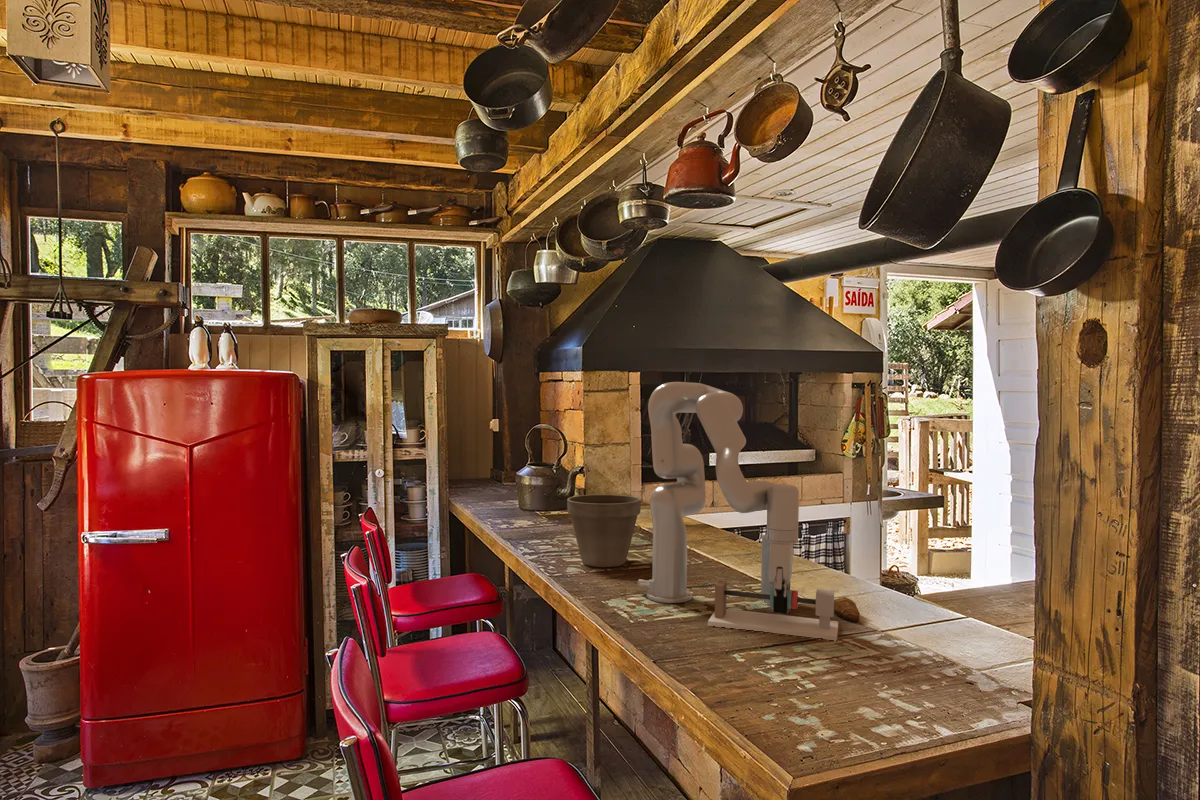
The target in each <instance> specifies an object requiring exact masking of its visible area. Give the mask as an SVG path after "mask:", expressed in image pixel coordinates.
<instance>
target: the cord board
mask: <svg viewBox="0 0 1200 800" xmlns="http://www.w3.org/2000/svg"><path fill="white" fill-rule="evenodd" d="M727 583H728V581H726V580H718V581H717V582H716V584H715V585H714V589H715V590H714V611H713V613H712V614H711V616H710V618H709V619H708V620H707V627H713V626H715V628H721V627H725V629H730V628H736V629H735V630H738V629H746V630H754V631H764V632H772V633H782V634H790V635H798V636H806V637H815V638H823V639H830V640H837V641H838V635H837V634H839V633H838V632H839V621H837V620H831V618H834V614H835V613H834V600H835V590H831V589H822V588H821V589H820V588H817V589H816V592H815V598H805V597H799V591H798V590H796V589H795V590H792V589H791V590H792V600H791V602H792V603H791V605H792V608H791V609H792V610H798V607H799V606H798V605H799V604H807V605H815V616H818V618H814V617H813V618H812V617H802V616H794V615H786V614H778V613H777V614H776V613H775V614H774V613H766V612H758V611H750V610H749V611H748V610H739V609H731V608H730V609H729V608H727V596H730V597H731V596H733V597H740V598H751V599H758V600H759V599H760V600H762V599H768V600H770V595H769V594H761V593H756V592H748V591H738V590H730V589H729V590H728V589H727ZM746 630H745V631H746ZM754 631H753V632H754Z"/></svg>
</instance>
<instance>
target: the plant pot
mask: <svg viewBox="0 0 1200 800" xmlns="http://www.w3.org/2000/svg"><path fill="white" fill-rule="evenodd" d="M641 502H642V498H640V497H638V496H633V495H623V494H606V493H605V494H582V495H574V496H571V497H568V498H567V500H566V505H567V514H568V515H570V518H571V523H572V527H573V530H574V534H575V535H574V536H575V540H576V543H577V548H578V552H579V556H580V559H581V562H582V563H583V564H584V565H586V566H588V567H593V568H594V567H595V568H597V567H598V568H613V567H614V568H615V567H620V566H622V565H625V563H626V562H627V558H628V555H629V552H630V548H631V544H632V540H633V536H634V531H635V527H636V523H637V518H638V515H640V514H641V507H642V506H641V505H642V503H641Z"/></svg>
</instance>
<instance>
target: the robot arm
mask: <svg viewBox="0 0 1200 800" xmlns="http://www.w3.org/2000/svg"><path fill="white" fill-rule="evenodd" d="M647 408H648V418H649V424H650V431H651V433H650V434H651V449H652V450H651V452H652V465H653V467H652V468H653V471H654V474H656V476H657V477H659V478H662V479H666V480H669V479H676V482H672V483H665V484H662V485H659V486H657V487H656V488H655V489H653V491H652V493H651V495H650V497H649V508H650V513H651V521H652V566H651V567H652V568H651V569H652V570H651V571H652V573H651V574H652V576H651V579H649V580H647V579H646V580H645V579H640V578H639V579H638V580H637V587H639V588H641V589H647V591H646V595H645V596H646V598H647V599H649V600H651V601H654V602H659V603H666V604H679V603H686V602H689V601H691V600H692V598H693V594H692V592H691V591H689V590H687V582H688V581H687V578H688V577H687V574H688V573H687V572H688V568H687V567H688V563H687V562H688V533H687V527H686V524H685V522H684V519H683V517H686V516H687V517H688V516H692V515H696V514H699V513H700V512H701V511H702V510H703V508H704V507H705V504H706V497H707V496H706V493H707V492H706V478H705V463H704V458H703V455H702V453H701V451H700V450H699V449H698V447H696V446H695V445H693V444H691V443H690V444H689V443H683V435H682V434H683V432H682V426H681V424H680V421H679V419H678V418H677V416H676V415H677V414H678V413H687V414H689V413H691V414H692V413H695V414H696V415H697V418H698V420H699V421H700V423H701V425H702V427H703V429H704V432H705V433H706V436H707V438H708V440H709V441H710V444H711V446H712V447H713V450H714V452H715V454H716V458H715V476H716V481H717V483H718V485H719V488H720V490H721V492H722V495H723V497H724V499H725V500H726V502H727V503H728V505H729V506H730V507H731V509H733V510H734V511H735V512H737V513H739V514H749V513H755V512H761V511H766V535H767V541H768V542H771V544H770V554H769V577H768V582H769V583H770V584H771V583H772V582H773V581H774V579H775V584H774V585H775V587H774V602H773V609H772V610H773V613H775V614H776V613H777V614H782V615H786V614H788V613H787V609H788V608H787V597H786V590H788V584H789V582H790V583H791V579H792V574H793V564H794V563H793V562H794V561H793V560H794V559H793V558H794V544H795V545H796V544H798V543H799V512H800V509H799V508H800V507H799V505H800V501H799V500H800V492H799V489H798V487H797V486H795V485H794V484H786V483H785V484H784V483H783V484H782V483H781V484H780V483H774V482H771V481H768V480H767V481H766V480H754V481H746V478H745V476H744V474H743V472H742V470H741V468H740V464H739V455H740V452H741V450H742V449H743V448H744V447H745V446H746V444H747V439H746V436H745V435H744V433H743V430H742V429H741V428H740V425H739V424H738V421H740V420H741V418H742V416H743V414H744V413H743V412H744V407H743V403H742V401H741V398H739V396H737V395H735V394H734V393H732V392H729V391H725V390H722V389H720V388H717V387H713V386H711V385H707V384H704V383H701V382H699V383H698V382H688V381H686V382H685V381H671V382H665V383H663V384H660V385H659V386H657V387H656V388H655V389H654V390H653V391H652V393H651V394H650V397H649V399H648V404H647Z"/></svg>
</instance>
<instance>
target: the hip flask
mask: <svg viewBox="0 0 1200 800" xmlns="http://www.w3.org/2000/svg"><path fill="white" fill-rule="evenodd" d="M770 544H771V542H768V541H767V534H762V535H761V571H760V572H761V577H760V578H761V579H760V581H761V582H760V584H761V585H760V594H769V595H770V591H771V589H772V588H774V587H775V585H774V584H775V579H774V581H773V582H772V583H771V584H770V583H769V582H768V577H769V554H770ZM788 590H791V581H790V582H789V584H788ZM763 600H764V602H765V603H767V604H768V605H769V606H770V600H768V599H763ZM763 600H762V601H763ZM764 602H763V603H764ZM765 603H764V604H765ZM768 605H767V606H768ZM769 606H768V607H769ZM772 608H773V607H772ZM772 608H771V609H772ZM787 612H790V613H791V609H787Z"/></svg>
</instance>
